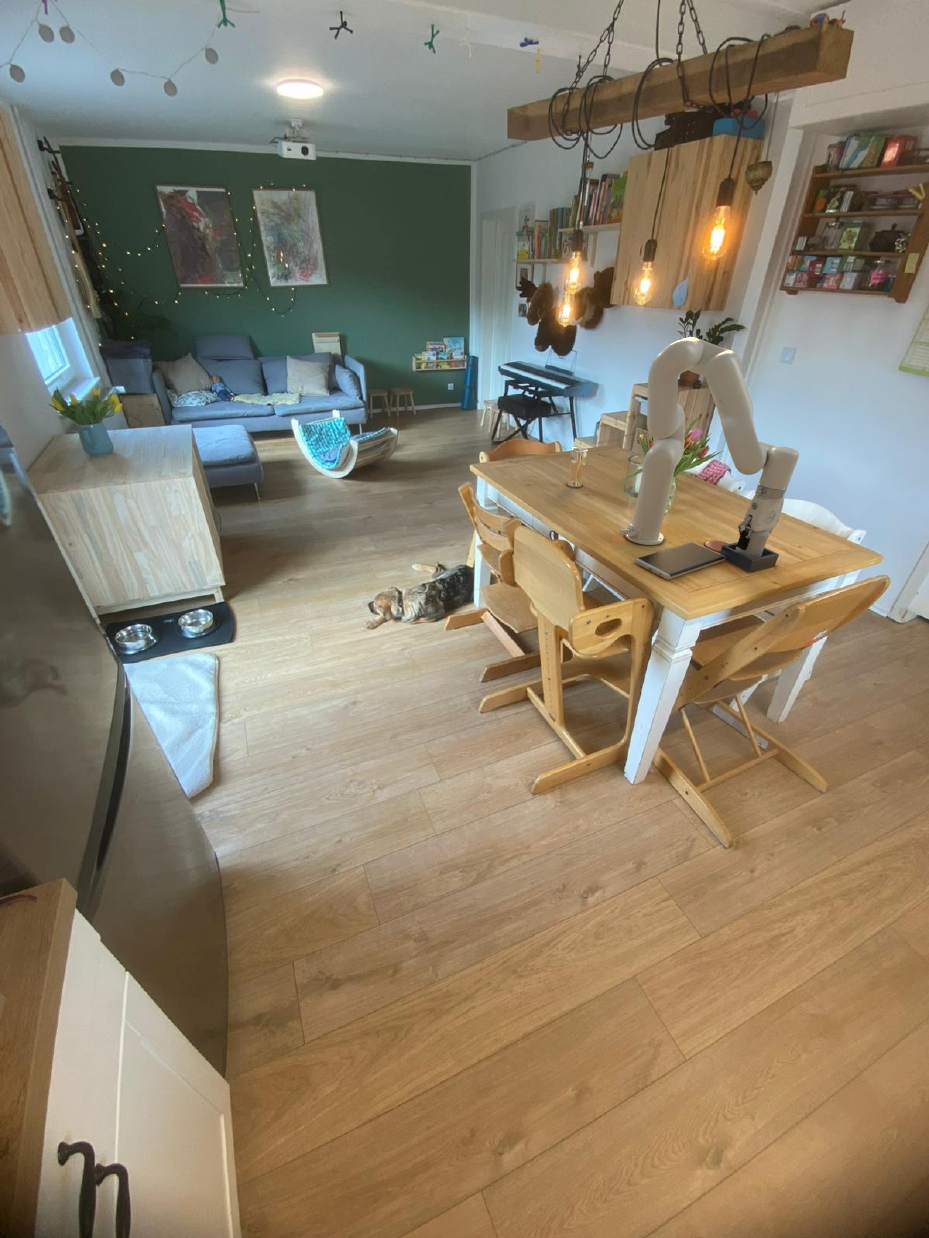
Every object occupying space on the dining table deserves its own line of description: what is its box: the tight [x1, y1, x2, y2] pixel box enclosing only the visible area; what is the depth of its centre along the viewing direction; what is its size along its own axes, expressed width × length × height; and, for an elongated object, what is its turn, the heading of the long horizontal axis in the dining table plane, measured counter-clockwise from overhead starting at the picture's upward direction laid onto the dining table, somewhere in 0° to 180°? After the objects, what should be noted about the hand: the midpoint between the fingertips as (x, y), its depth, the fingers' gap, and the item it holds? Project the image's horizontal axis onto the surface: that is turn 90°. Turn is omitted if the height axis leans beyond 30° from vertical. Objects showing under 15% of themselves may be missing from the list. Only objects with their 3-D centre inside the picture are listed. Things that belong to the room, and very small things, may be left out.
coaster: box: [704, 540, 729, 553], centre depth 175 cm, size 9×9×1 cm
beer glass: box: [567, 446, 589, 488], centre depth 220 cm, size 7×7×15 cm
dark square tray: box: [719, 541, 780, 573], centre depth 166 cm, size 12×12×4 cm
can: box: [736, 526, 771, 559], centre depth 164 cm, size 8×8×12 cm
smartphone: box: [634, 541, 726, 580], centre depth 165 cm, size 13×27×2 cm, turn 121°
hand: (750, 546), depth 164 cm, fingers closed on can, 7 cm apart
